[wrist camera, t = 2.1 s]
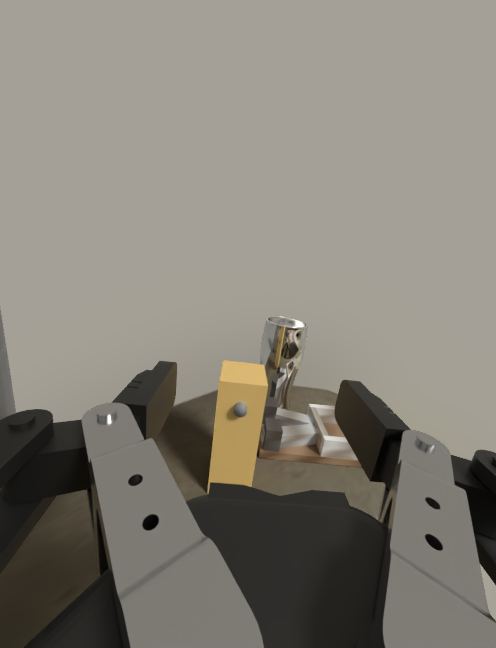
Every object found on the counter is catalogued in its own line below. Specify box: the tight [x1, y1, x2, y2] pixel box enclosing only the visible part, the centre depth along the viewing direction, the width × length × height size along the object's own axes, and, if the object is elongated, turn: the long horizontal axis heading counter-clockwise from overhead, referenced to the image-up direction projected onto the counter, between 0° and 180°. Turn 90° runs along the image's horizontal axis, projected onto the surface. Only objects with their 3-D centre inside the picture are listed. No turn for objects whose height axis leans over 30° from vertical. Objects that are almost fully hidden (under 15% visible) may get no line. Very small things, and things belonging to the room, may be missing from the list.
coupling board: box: [258, 397, 362, 467], centre depth 34 cm, size 16×8×4 cm, turn 91°
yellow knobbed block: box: [207, 361, 268, 494], centre depth 25 cm, size 4×6×13 cm
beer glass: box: [260, 316, 308, 410], centre depth 40 cm, size 7×7×15 cm
